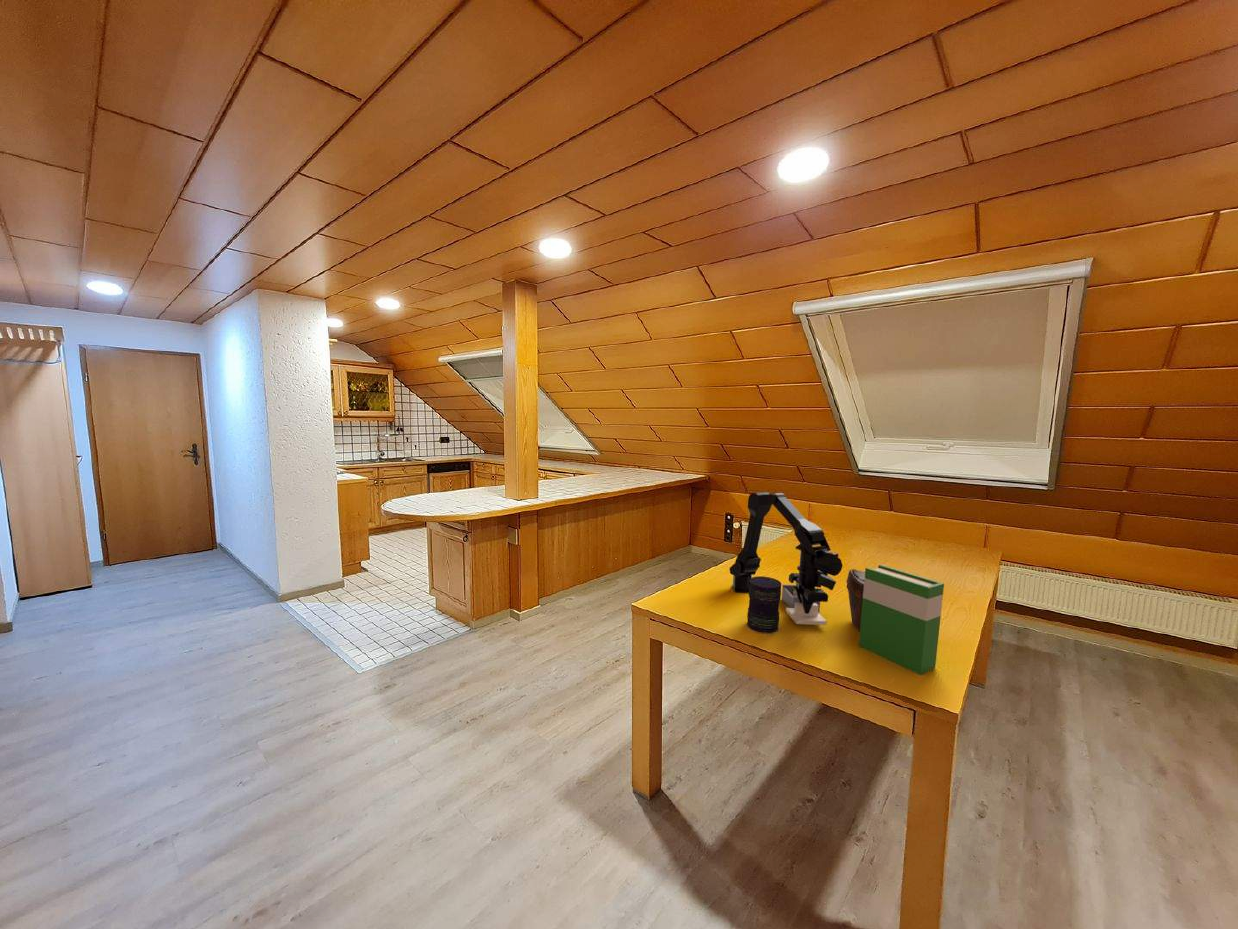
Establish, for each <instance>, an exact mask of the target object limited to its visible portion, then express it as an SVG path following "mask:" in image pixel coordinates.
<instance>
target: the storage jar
mask: <svg viewBox="0 0 1238 929" xmlns="http://www.w3.org/2000/svg"><path fill="white" fill-rule="evenodd" d="M748 598H749V600H748V608H747V612H746V614H747V618H746V619H747V623H746V626H747V628H749V630H751V631H754V632H755V633H761V634H774V633H777V632H778V631H779V624H780V602H781V600H782V582H781V581H780V580H779V579H776V578H773V577H769V576H761V575H760V576H759V575H758V576H753V577H752V578H750V585H749V593H748Z"/></svg>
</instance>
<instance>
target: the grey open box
mask: <svg viewBox="0 0 1238 929" xmlns="http://www.w3.org/2000/svg"><path fill="white" fill-rule="evenodd" d="M794 586H796V584H782V585H781V601H782V602H783V604H784V605H786V608H795V603H800V602H799V599H798V597H797V594H796V592H795V589H794ZM814 603H816V604H817V605H818V606H819V607H818V613H819V614H820V610H821V602H814Z"/></svg>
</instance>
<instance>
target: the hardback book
mask: <svg viewBox="0 0 1238 929" xmlns="http://www.w3.org/2000/svg"><path fill="white" fill-rule="evenodd" d="M864 570H865V571H864V572H865V580H864V591H863V602H862V614H861V625H860V629H859V637H858V638H859V639H858V647H859V648H861V649H863V650H865V651H867V652H870V653H872V654H874V655H877V656H878V657H879V658H880V657H881V658H883V659H885V660H887V661H889V662H891V663H893V664H896V665H898V666H899V667H902V668H905V669H906V670H909V671H910V672H913V673H916V675H919V676H922V675H924V674H926V673H928V672H931V671H932V670H935V669H936V663H937V653H938V646H939V645H938V644H939V636H940V626H941V618H942V617H941V615H942V609H943V608H942V607H943V601H944V600H943V599H944V588H945V583H943V582H940V581H937V580H934V579H932V578H931V579H930V578H926V577H924V576H920V575H917V574H914V573H910V572H907V571H906V572H905V571H903V570H900V569H896V568H893V567H889V566H886V565H883V564H878V567H877V568H874V569H872V568H870V567H865V569H864Z"/></svg>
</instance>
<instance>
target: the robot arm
mask: <svg viewBox="0 0 1238 929" xmlns="http://www.w3.org/2000/svg"><path fill="white" fill-rule="evenodd" d="M772 506H773V507H774V508H776V510H777V511H778V512H779V514H780V515H781V516H782V517H783V519H784V520H786V522H788V524H789V525H790V526H791V527H792V529H793V532H794V536H795V538H796V539H797V541H798V542H799V544H798V545H797V546H795V549H796V550H798V551H800V554H799V566H798V565H797V567H796V569H797V571H798V572H791V573H790V574H789V575H788V581H789V582H790V584H794V583H795V585H796V586H794V589H795V592H796V594H797V597H798V599H799V602H800V603H802V604H803V608H804V611H805V613H806V614H808V613H809V611H810V609H811V607H812V605H813V603H814V602H820V603H821V602H822V603H828V602H829V595H828V594H827V593H826V592H825V591H824V590H823V589H822V588H821V587H824V588H826V589H829V590H830V591H834V588H835V586H836V583H837V581H836V580H835V579H834V578H832V577H831V576H834V577H835V576H838V575H839V574H840V573H841V571H842V569H843V563H842V560H841V558H840V557H839V553H837V552H832V551H831V547H830V544H829V543H828V540H827V539H826V536H825V532H824V530H823V529H822V528H821V527H819V526H818V525H817V524H816V523H814V522H811V521H810V520H807V519H806V518H805V516H803V515H802V513H801V512H800V511H799V510H798V509H797V508H796V507H795V505H794V504H792V502H790V500H789V499H788V498H787V495H786V494H785V493H782V492H774V493H769V492H768V491H765V492H764V491H763V492H752V493H750V494H749V496H748V497H747V510H748V512H749V520H748V523H747V524H748V525H747V528H746V534H745V538H744V542H743V548H742V549H741V550H740V552H739V553H738V554H737V556H736V559H735V562H734V563H733V564H732V565H731V566H730V567H729V569H728V570H729V573H730V575H732V576H733V578H732V579H733V580H732V584H731V588H732V589H733V592H735V593H748V594H749V585H750V578H752V576H754V575H756V573H757V570H759V568H760V567H761V566H760V564H761V561H762V558H761V557H759V555H758V552H757V551H758V547H759V542H760V537H761V534H762V533H761V532H762V528H763V524H764V519H765V516H767V514H768V513H770V511H771V509H772ZM829 575H830V576H829Z"/></svg>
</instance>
